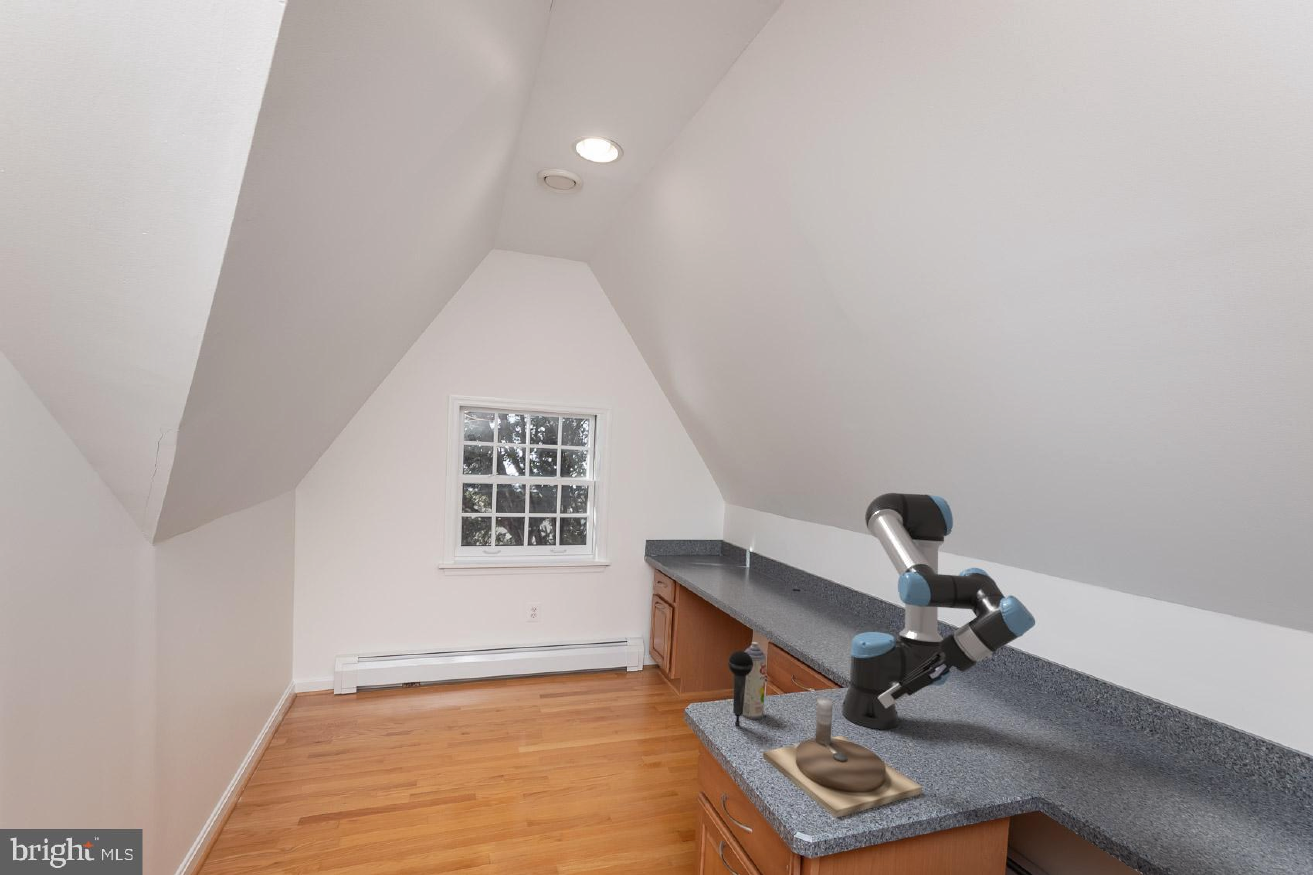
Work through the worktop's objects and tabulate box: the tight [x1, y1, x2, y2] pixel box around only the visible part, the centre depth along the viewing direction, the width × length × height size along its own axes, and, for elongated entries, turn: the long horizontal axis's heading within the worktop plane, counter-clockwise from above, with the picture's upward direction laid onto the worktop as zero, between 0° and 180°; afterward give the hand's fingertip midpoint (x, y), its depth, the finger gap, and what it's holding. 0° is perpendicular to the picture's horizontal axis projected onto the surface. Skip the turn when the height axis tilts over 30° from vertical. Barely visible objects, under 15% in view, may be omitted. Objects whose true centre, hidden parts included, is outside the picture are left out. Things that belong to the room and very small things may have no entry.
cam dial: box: [796, 697, 886, 792], centre depth 138 cm, size 20×20×12 cm
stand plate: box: [762, 735, 923, 819], centre depth 138 cm, size 25×25×2 cm
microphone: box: [727, 650, 753, 727], centre depth 161 cm, size 7×7×20 cm
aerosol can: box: [740, 641, 767, 720], centre depth 169 cm, size 7×7×20 cm
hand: (882, 702), depth 141 cm, fingers closed
